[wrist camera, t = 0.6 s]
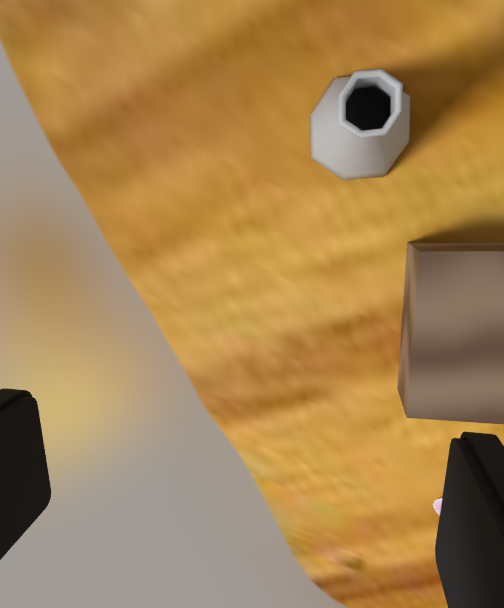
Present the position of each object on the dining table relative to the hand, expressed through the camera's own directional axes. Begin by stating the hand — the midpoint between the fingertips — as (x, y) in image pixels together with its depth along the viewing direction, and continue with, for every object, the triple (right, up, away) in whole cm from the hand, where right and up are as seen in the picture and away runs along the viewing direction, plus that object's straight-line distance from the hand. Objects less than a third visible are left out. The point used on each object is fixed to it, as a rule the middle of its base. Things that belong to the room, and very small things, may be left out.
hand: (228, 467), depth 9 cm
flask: (+8, +16, +21) cm, 28 cm away
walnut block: (+18, +2, +23) cm, 30 cm away
